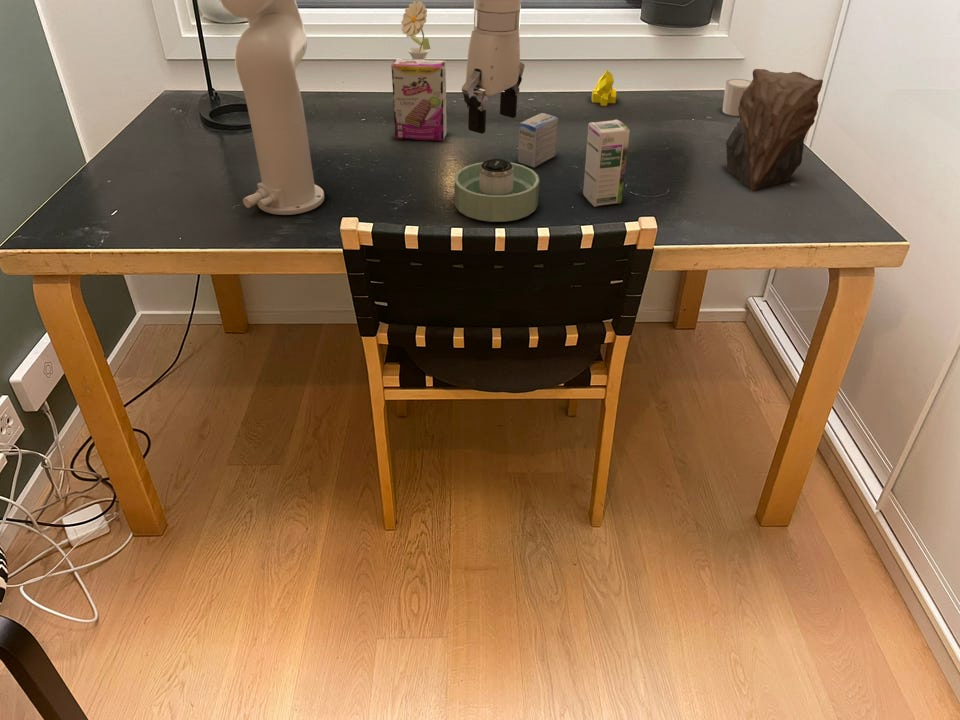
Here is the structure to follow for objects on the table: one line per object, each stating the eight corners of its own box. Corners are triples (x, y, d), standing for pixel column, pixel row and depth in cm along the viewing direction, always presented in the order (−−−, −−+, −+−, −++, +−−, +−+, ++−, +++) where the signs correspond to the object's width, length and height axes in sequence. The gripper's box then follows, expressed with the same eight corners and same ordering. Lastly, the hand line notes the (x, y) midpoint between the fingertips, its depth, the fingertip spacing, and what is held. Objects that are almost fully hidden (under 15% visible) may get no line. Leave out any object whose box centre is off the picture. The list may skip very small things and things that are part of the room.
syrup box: (593, 207, 141) (601, 132, 132) (581, 194, 145) (588, 120, 137) (621, 203, 142) (631, 129, 133) (608, 190, 147) (617, 117, 138)
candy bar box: (395, 140, 167) (389, 64, 157) (399, 132, 171) (394, 57, 161) (444, 142, 166) (442, 66, 156) (447, 134, 170) (445, 59, 160)
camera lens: (475, 208, 139) (475, 168, 134) (483, 193, 144) (484, 154, 139) (508, 211, 138) (510, 171, 133) (515, 197, 143) (517, 157, 138)
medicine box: (539, 151, 162) (541, 112, 157) (556, 156, 160) (559, 116, 155) (517, 163, 157) (518, 122, 152) (534, 168, 155) (536, 127, 150)
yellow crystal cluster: (614, 95, 192) (618, 64, 187) (615, 106, 185) (619, 74, 181) (591, 94, 192) (594, 63, 187) (591, 105, 186) (595, 73, 181)
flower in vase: (393, 103, 186) (386, -6, 171) (437, 99, 189) (434, -9, 174) (405, 121, 176) (398, 7, 161) (451, 116, 179) (449, 3, 164)
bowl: (508, 232, 133) (509, 204, 129) (438, 210, 140) (437, 182, 136) (552, 201, 143) (554, 174, 140) (485, 181, 150) (485, 155, 147)
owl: (718, 166, 156) (739, 67, 144) (772, 160, 159) (796, 62, 147) (750, 191, 147) (775, 87, 135) (807, 184, 149) (836, 82, 137)
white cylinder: (714, 109, 184) (719, 80, 179) (736, 105, 186) (742, 76, 182) (732, 118, 179) (738, 88, 174) (755, 114, 181) (761, 85, 177)
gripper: (506, 6, 129) (502, 106, 139) (446, 26, 117) (446, 132, 128) (544, 14, 126) (536, 115, 136) (485, 34, 114) (482, 143, 125)
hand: (492, 123), depth 132 cm, fingers open, 9 cm apart
